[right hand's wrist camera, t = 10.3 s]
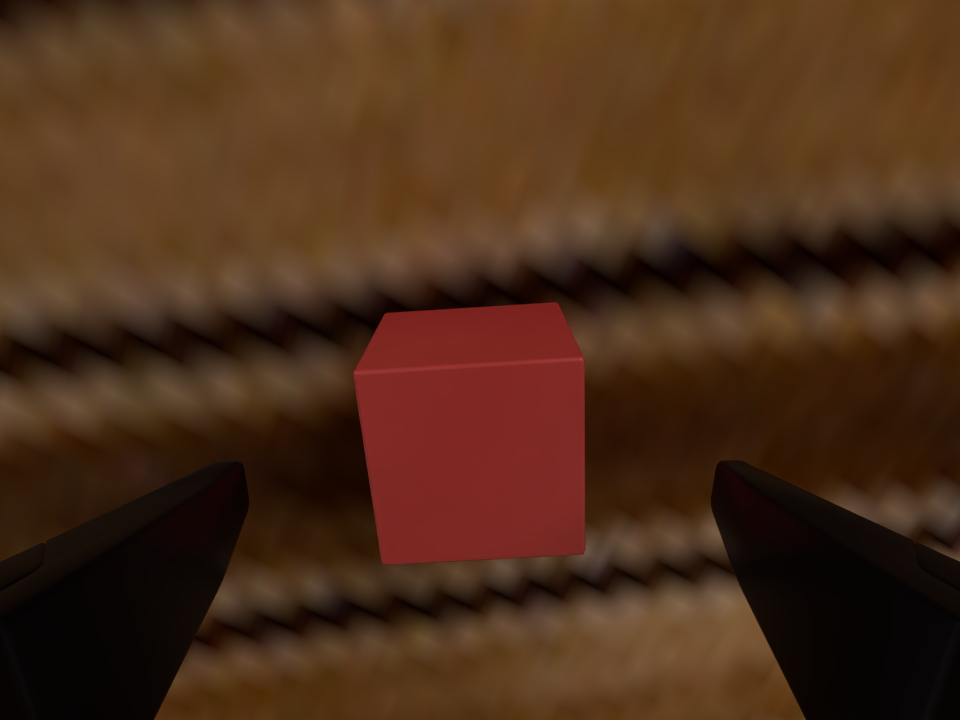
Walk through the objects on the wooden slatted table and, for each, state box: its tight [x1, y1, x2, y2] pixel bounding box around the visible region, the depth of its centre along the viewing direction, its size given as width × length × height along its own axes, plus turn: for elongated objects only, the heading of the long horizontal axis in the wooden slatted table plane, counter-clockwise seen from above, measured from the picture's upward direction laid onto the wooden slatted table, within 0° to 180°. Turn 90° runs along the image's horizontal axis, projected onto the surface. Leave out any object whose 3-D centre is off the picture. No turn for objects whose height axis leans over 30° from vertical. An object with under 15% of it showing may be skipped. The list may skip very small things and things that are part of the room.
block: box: [353, 302, 585, 565], centre depth 14 cm, size 4×4×4 cm
